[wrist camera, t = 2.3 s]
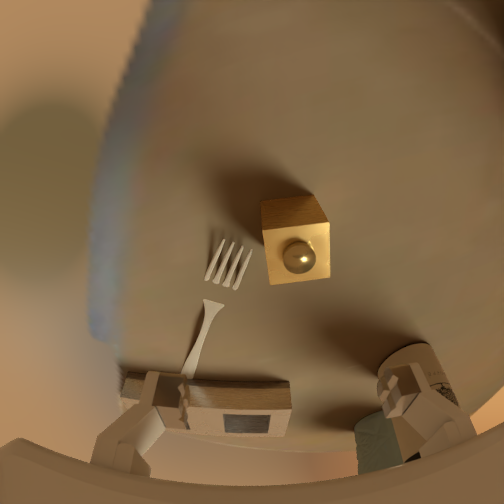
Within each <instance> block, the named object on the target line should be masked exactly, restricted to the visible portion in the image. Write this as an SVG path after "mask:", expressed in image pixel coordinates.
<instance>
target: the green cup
mask: <svg viewBox="0 0 504 504" xmlns="http://www.w3.org/2000/svg"><path fill="white" fill-rule="evenodd" d="M354 432H355V441H356V444H357V447H356V450H357V452H356V453H357V460H358V462H359V463H358V475H360V474H365V473H369V472H374V471H378V470H382V469H386V468H390V467H393V466H397V465H400V464H404V463H403V459H402V455H401V451H400V448H399V444H398V440H397V437H396V433H395V430H394V426H393V423H392V420H391V418H385V415H384V412H383V410H382V411H379V412H376V413H373V414H371V415H368V416H366V417H365V418H363V419H361V420H360V421H359V422H358V423H357V424H356V425H355V427H354Z"/></svg>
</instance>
